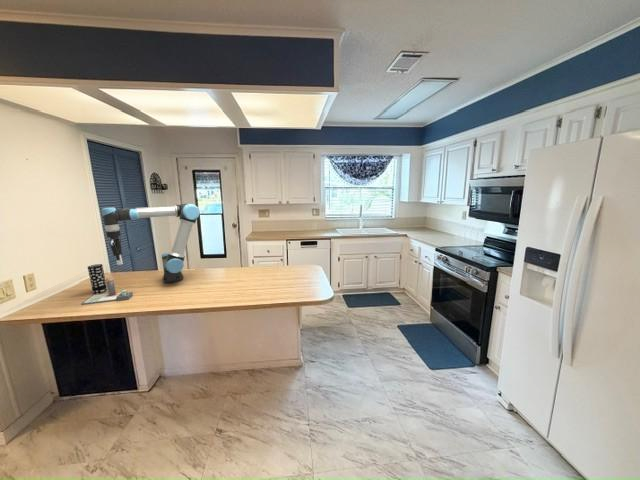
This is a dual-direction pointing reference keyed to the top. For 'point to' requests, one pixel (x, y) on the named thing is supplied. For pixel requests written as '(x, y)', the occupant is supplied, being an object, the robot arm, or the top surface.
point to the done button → (123, 292)
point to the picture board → (100, 298)
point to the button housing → (124, 296)
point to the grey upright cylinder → (111, 286)
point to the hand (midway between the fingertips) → (120, 264)
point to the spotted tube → (97, 278)
